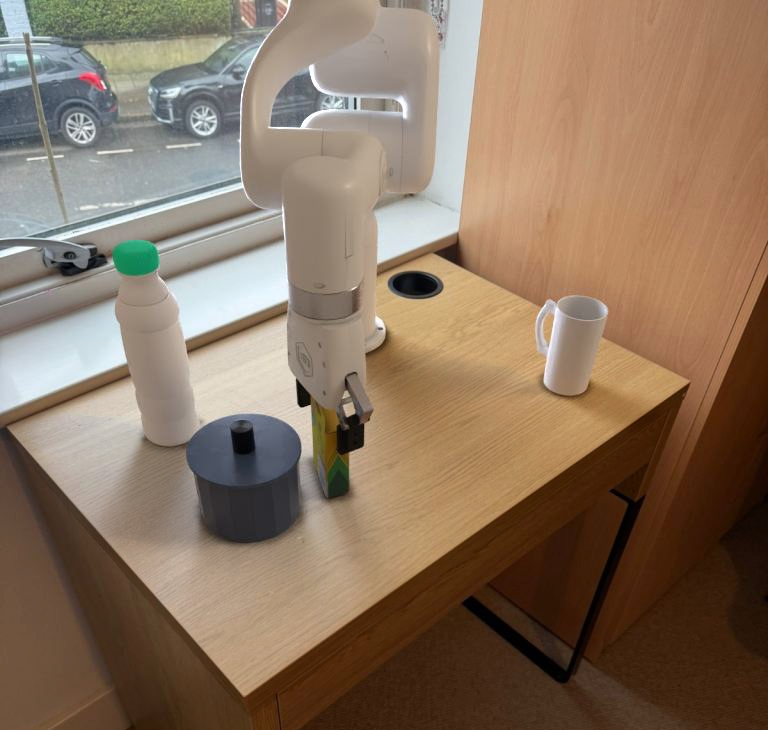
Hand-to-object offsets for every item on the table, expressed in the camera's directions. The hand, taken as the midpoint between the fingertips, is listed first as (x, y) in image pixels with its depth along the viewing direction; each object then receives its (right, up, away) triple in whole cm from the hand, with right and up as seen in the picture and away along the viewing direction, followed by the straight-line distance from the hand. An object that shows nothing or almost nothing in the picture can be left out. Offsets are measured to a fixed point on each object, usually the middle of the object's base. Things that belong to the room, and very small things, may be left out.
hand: (329, 425), depth 88 cm
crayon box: (0, -6, +5) cm, 8 cm away
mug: (+31, +9, +22) cm, 39 cm away
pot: (-9, -9, +1) cm, 13 cm away
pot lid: (-9, -3, -5) cm, 11 cm away
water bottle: (-21, 0, +11) cm, 24 cm away
